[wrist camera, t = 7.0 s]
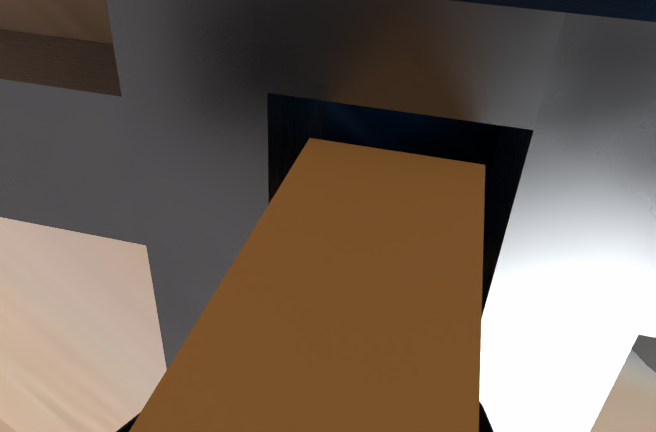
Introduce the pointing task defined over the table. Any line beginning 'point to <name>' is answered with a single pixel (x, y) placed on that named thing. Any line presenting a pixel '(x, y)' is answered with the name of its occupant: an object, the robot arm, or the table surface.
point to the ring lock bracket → (308, 122)
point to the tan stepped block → (343, 306)
